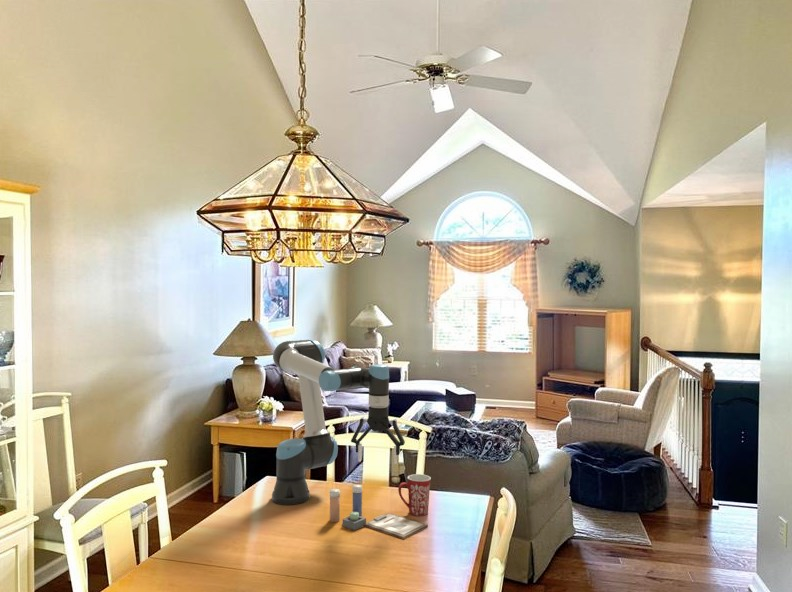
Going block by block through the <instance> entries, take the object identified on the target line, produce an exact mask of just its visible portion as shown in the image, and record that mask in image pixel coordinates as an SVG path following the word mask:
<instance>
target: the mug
mask: <svg viewBox="0 0 792 592" xmlns="http://www.w3.org/2000/svg"><path fill="white" fill-rule="evenodd" d="M431 479H432V477H431V476H429V475H427V474H421V473H415V474H410V475H408V476H407V482H401V483H400V484H399V486H398V490H397V491H398V495H399V497H400V499H401V500H402V502H403V503H404V505H406V507H407V508H408V512H409V514H410V515H413V516H417V517H418V516H419V517H422V516H426V515H428V514H429V502H430V489H431V488H430V487H431ZM403 486H406V488H407V491H408V502H407V501H406V500H405V499H404V497H403V494H402V487H403Z"/></svg>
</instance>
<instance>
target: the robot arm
mask: <svg viewBox="0 0 792 592" xmlns="http://www.w3.org/2000/svg"><path fill="white" fill-rule="evenodd" d="M325 359H326V353H325V349H324V347H323V345H322V344H321V343H320V342H319V341H318V340H315V339H303V340H302V339H300V340H286V341H283V342H280V343H279V344H278V345H277V346H276V347H275V349H274V350H273V353H272V360H273V362H274V364H275V366H276V367H278V368H279V369H281V370H283V371H285V372H291V371H292V372H294V374H295V375H297V376H298V383H299V390H300V391H299V392H300V398H301V406H302V414H303V423H304V428H305V430H304V431H305V433H304V434H303V436H302V438H298V437H296V438H289V439H288V438H287V439H286V440H282V441H281V442H279V444H278V445H277V447H276V454H275V457H276V480H275V484H274V488H273V491H272V494H271V501H272V503H275V504H278V505H283V506H285V505H286V506H293V505H299V504H303V503H305V502H307V501H308V500H310V493H311V492H310V490H309V487H308V484H307V479H306V471H308V470H311V469H317V468H321V467H326V466H328V465H331V464H333V463H334V462H335V460H336V458H337V456H338V454H339V453H338V451H339V447H338V446H339V445H338V442H337V440H336V438H335V437H334V436H332V435H331V432H330V431H329V430H328V429H327V428H326V421H325V413H324V405H323V399H322V392H321V391H324V392H335V391H342V390H343V391H344V390H347V389H349V390H350V389H357V388H364V389H368V405H369V406H368V413H367V415H368V417H367V418H365V417H363V416H362V417H361V418H360V419H359V423H358V426H357V428H356V430H355V432H354V434H353V435H352V437H351V440H350V442H351V443H353V444H355V453H357V455H358V456H357V462H358V463H361V461H362V460H363V459H362V458H363V456H362V453H363V451H362V450H363V443H362V440H363V439H364V438H365V437H366V436H367V435H368V434H369V432H370V431H373V432H377V431H378V432H384V433H385V434H386V435H387V436H388V438H390V441H392V443H393V444H394V446H393V465H396V464H397V462H398V456H400V453H401V446H404V445H405V444H406V441H405V439H404V436H403V434H402V432H401V430H400V428H399V426H398V422H397V419H396V418H394V419H389V407H388V406H389V399H390V398H389V395H390V394H389V391H390V388H389V386H390V367H389V366H388V365H386V364H371V365H369V367H363V366H351V367H350V368H342V369H341V368H340V369H337V368H334V367H331V366H329V365H327V364H325V363H324V362H325ZM366 423H367V425H368V426H369V427H368V428H367V429H366V430H365V431H364V432H363V433H362V434H361V436H360V437H359V438H358V436H359V434H360V432H361V431H362V428H363V426H364V425H365V424H366ZM389 424H390V425H391V426H392V428H393V430H394V432H395V434H394V433H393V432H392V430H391V429H390V427H389ZM357 438H358V439H357Z"/></svg>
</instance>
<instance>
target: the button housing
mask: <svg viewBox="0 0 792 592" xmlns="http://www.w3.org/2000/svg"><path fill="white" fill-rule="evenodd" d="M365 523H367V518H366V517H364V516H359V520H358V521H355V522H354V521H351V520H350V515H348V516H347V517H344V518H342V526H343V527H344V528H347V529H349V530H353V531H356V530H359V529H361V528H363V527H365V526H364V524H365Z"/></svg>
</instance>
